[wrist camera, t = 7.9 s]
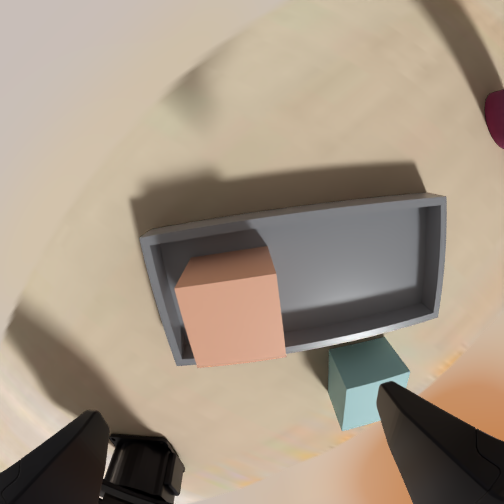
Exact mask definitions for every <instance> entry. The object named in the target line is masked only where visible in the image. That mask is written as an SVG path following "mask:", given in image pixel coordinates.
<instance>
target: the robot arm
mask: <svg viewBox="0 0 504 504" xmlns="http://www.w3.org/2000/svg"><path fill="white" fill-rule="evenodd" d="M376 406H377V410H378V413H379V416H380V419H381V423H382V426H383V429H384V432H385V435H386V439H387V442H388V445H389V448H390V450H391V453H392V455H393V457H394V460H395V462H396V464H397V466H398V469H399V471H400V473H401V476H402V478H403V480H404V483H405V485H406V487H407V490H408V492H409V495H410V497H411V499H412V502H413V504H504V441H501V440H499V439H496V438H494V437H492V436H490V435H488V434H486V433H484V432H482V431H481V430H479V429H476V428H475V427H473V426H471V425H469V424H467V423H466V422H464V421H462V420H460V419H458V418H457V417H455V416H453V415H451V414H449V413H447V412H446V411H444V410H442V409H440V408H439V407H437V406H435V405H433V404H432V403H430V402H428V401H426V400H425V399H423V398H421V397H420V396H418V395H416V394H414V393H413V392H411V391H409V390H408V389H406V388H404V387H402V386H401V385H399V384H397V383H396V382H394V381H388V382H385V383H382V384H380V386H379V389H378V395H377V400H376ZM109 433H110V430H109V426H108V424H107V423H106V421H105V420H104V418H103V417H102V415H101V414H100V412H98V411H96V410H86V411H85V412H84V413H82V414H81V415H80V416H78V417H77V418H76V419H74V420H73V421H72V422H71V423H69V424H68V425H67V426H65V427H64V428H63V429H61V430H60V431H59V432H57V433H56V434H55V435H53V436H52V437H50V438H49V439H48V440H46V441H45V442H44V443H42V444H41V445H40V446H38V447H37V448H36V449H34V450H33V451H31V452H30V453H29V454H27V455H26V456H25V457H23V458H22V459H21V460H19V461H18V462H16V463H15V464H13V465H12V466H11V467H9V468H8V469H6V470H4V471H3V472H1V473H0V504H173V503H174V497H175V496H178V495H179V494H180V489H181V482H182V475H183V472H185V467H184V465H183V463H182V462H181V460H180V459H179V457H178V456H177V454H176V453H175V452H174V450H173V449H172V447H171V445H170V444H169V442H168V441H167V440H166V439H164V438H155V437H138V436H127V435H117V434H110V437H109ZM109 439H110V440H111V442H112V443H113V444H114V446H115V450H114V453H113V455H112V458H111V461H110V464H109V467H108V470H107V472H106V475H105V478H104V479H103V476H104V471H105V465H106V457H107V449H108V441H109ZM99 496H101V497H103V499H101V498H99Z"/></svg>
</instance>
